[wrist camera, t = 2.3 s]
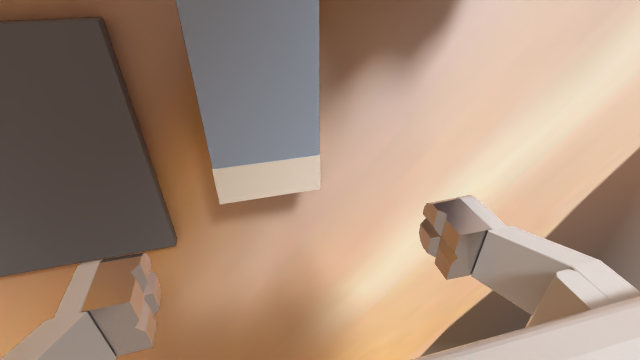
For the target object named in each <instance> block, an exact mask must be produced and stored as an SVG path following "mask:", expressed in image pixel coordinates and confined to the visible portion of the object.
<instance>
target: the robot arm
mask: <svg viewBox="0 0 640 360" xmlns="http://www.w3.org/2000/svg"><path fill="white" fill-rule="evenodd" d="M423 215H424V216H425V217H426V219H425V220H424V221H423V222H422V223H421V224H420V230H419V235H420V241H421V243H422V246H423V248H424V249H425V250H426V252H427V253H428V254H430V255H432V256H434V257H435V265H436V266H437V267H438V269H439V270H440V271H441V273H442V274H443V276H444V277H445V278H446V280H448V279H453V278H458V277H463V276H468V275H472V277H474V278H475V279H477V280H478V281H480V282H481V283H483V284H484V285H486V286H488V287H489V288H491V289H492V290H494V291H495V292H497V293H498V294H500V295H502V296H503V297H505V298H506V299H508V300H509V301H511V302H513V303H514V304H516V305H517V306H519V307H521V308H522V309H523V310H525V311H527V312H528V313H530V314H531V315H532V316H531V318H530V320H529V322H528V323H527V325H526V328H524V329H520V330H517V331H513V332H509V333H506V334H502V335H499V336H495V337H491V338H488V339H484V340H480V341H477V342H473V343H470V344H466V345H462V346H459V347H455V348H452V349H448V350H445V351H441V352H437V353H434V354H430V355H426V356H423V357H419V358H416V359H412V360H640V291H638V290H637V289H636V288H634V287H633V286H632V285H630V284H629V283H628V282H627V281H626V280H624V279H623V278H622V277H620V276H619V275H618V274H617V273H615V272H614V271H613V270H612V269H610V268H609V267H608V266H607V265H605V264H604V263H603V262H601V261H600V260H597V259H595V258H593V257H590V256H588V255H585V254H582V253H580V252H577V251H575V250H572V249H569V248H567V247H564V246H562V245H560V244H556V243H554V242H552V241H549V240H547V239H544V238H542V237H539V236H537V235H534V234H531V233H529V232H526V231H524V230H521V229H519V228H516V227H514V226H509V227H507V226H506V225H505V224H504V223H503V222H502V221H501V220H500V219H499V218H498V217H497V216H495V215H494V214H493V213H492V212H491V211H490V210H489V209H488V208H487V207H486V206H485V205H483V204H482V203H481V202H480V201H479V200H478V199H477V198H476V197H474V196H472V195H468V196H463V197H457V198H453V199H448V200H442V201H437V202H431V203H427V204H426V205H425V207H424V210H423ZM151 264H152V262H151V260H150V258H149V256H148V254H146V253H140V254H133V255H127V256H120V257H113V258H107V259H103V260H97V261H90V262H83V263H81V264H80V265H79V266H77V268H76V270H75V272H74V274H73V276H72V278H71V281H70V283H69V285H68V287H67V289H66V292H65V294H64V296H63V298H62V300H61V302H60V305H59V307H58V309H57V311H56V313H55V316H54V318H52V319H48V320H45V321H44V322H43V323H42V324H41V325H40V326H38V327H37V328H36V329H35V330H34V331H33V332H31V333H30V334H29V335H28V336H27V337H26V338H24V339H23V340H22V341H21V342H20V343H19V344H17V345H16V346H15V347H14V348H13V349H12V350H10V351H9V352H8V353H7V354H6V355H5V356H3V357H2V358H1V359H0V360H116V359H117V358H116V357H117V356H121V355H125V354H129V353H132V352H136V351H140V350H144V349H148V348H152V347H153V345H154V339H155V333H156V327H157V322H156V320H155V318H154V315H155V313H156V312H157V311H158V310H159V309H160V302H161V288H160V283H159V279H158V277H157V274H155V273H153V272H151V271H150V268H151Z"/></svg>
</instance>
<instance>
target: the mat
mask: <svg viewBox="0 0 640 360" xmlns="http://www.w3.org/2000/svg"><path fill="white" fill-rule="evenodd" d="M176 243H177V237H176V234H175V231H174V228H173V225H172V222H171V219H170V216H169V213H168V210H167V207H166V204H165V201H164V198H163V195H162V192H161V190H160V187H159V184H158V181H157V178H156V175H155V172H154V169H153V166H152V163H151V160H150V157H149V154H148V151H147V148H146V145H145V142H144V139H143V137H142V134H141V131H140V128H139V125H138V122H137V119H136V116H135V113H134V110H133V107H132V104H131V101H130V98H129V95H128V92H127V89H126V86H125V83H124V81H123V78H122V75H121V72H120V69H119V66H118V63H117V60H116V57H115V54H114V51H113V48H112V45H111V42H110V39H109V36H108V33H107V30H106V28H105V25H104V22H103V19H102V17H95V18H70V19H44V20H19V21H0V277H1V276H6V275H12V274H18V273H24V272H29V271H35V270H41V269H47V268H52V267H58V266H64V265H70V264H75V263H81V262H87V261H93V260H98V259H104V258H110V257H115V256H121V255H127V254H133V253H138V252H144V251H150V250H156V249H161V248H167V247H173V246H176Z"/></svg>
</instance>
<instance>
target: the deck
mask: <svg viewBox="0 0 640 360" xmlns="http://www.w3.org/2000/svg"><path fill="white" fill-rule="evenodd" d="M176 4H177V9H178V13H179V18H180V22H181V27H182V32H183V36H184V41H185V45H186V50H187V54H188V59H189V64H190V68H191V73H192V77H193V82H194V86H195V91H196V95H197V100H198V105H199V109H200V114H201V118H202V123H203V127H204V132H205V137H206V141H207V146H208V150H209V155H210V159H211V164H212V172H213V176H214V181H215V185H216V190H217V194H218V199H219V204H226V203H233V202H239V201H246V200H252V199H259V198H265V197H272V196H278V195H285V194H291V193H298V192H304V191H311V190H317V189H320V116H319V0H176Z"/></svg>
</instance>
